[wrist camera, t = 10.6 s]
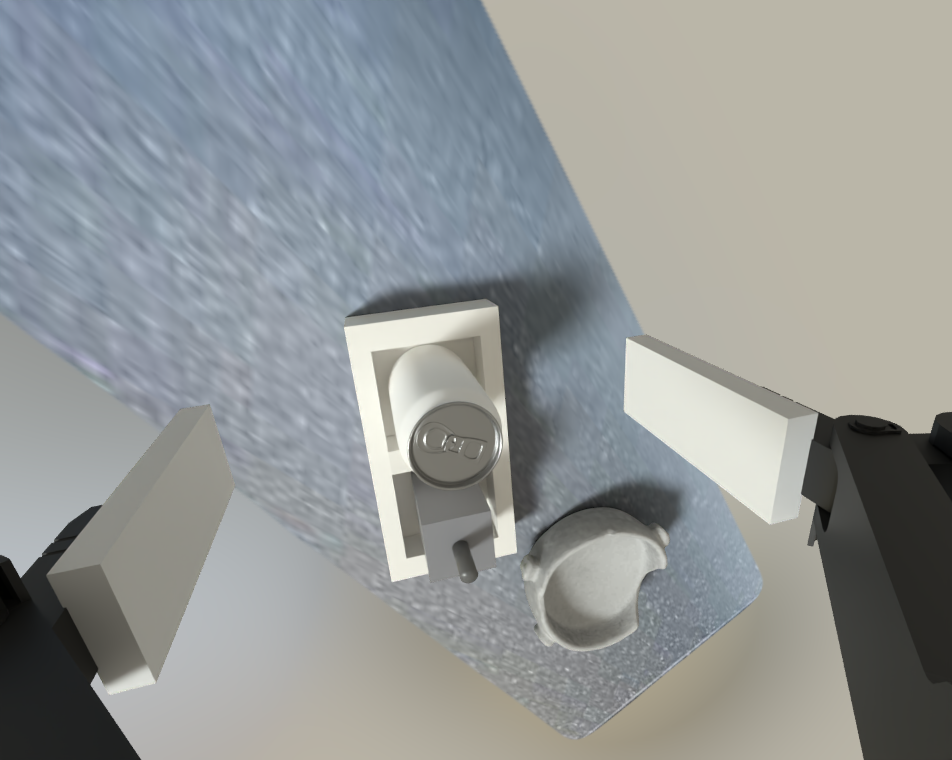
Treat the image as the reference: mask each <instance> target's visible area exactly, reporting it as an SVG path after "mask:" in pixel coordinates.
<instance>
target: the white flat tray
mask: <svg viewBox="0 0 952 760" xmlns="http://www.w3.org/2000/svg"><path fill="white" fill-rule="evenodd" d="M344 330H345V335H346V340H347V346H348V351H349V356H350V362H351V367H352V372H353V378H354V383H355V388H356V394H357V399H358V404H359V410H360V415H361V420H362V425H363V431H364V436H365V441H366V447H367V452H368V457H369V463H370V468H371V473H372V479H373V484H374V489H375V495H376V500H377V505H378V511H379V516H380V521H381V527H382V532H383V537H384V543H385V548H386V553H387V559H388V564H389V569H390V575H391V580H392V582H394V581H399V580H403V579H407V578H411V577H416V576H420V575H424V574H428V568H427V563H426V558H425V553H424V548H423V543H422V538H421V533H420V528H419V523H418V517H417V510H416V504H415V498H414V491H413V485H412V479H411V472H410V471H412V470H411V469H410V468H409V467H408V466H407V464H406V463H405V461H404V459H403V457H402V455H401V453H400V450H399V446H398V442H397V437H396V431H395V426H394V420H393V414H392V409H391V403H390V396H389V388H388V384H389V376H390V372H391V370H392V367H393V365H394V363H395V362H396V361H397V360H398V358H399V357H401V356H402V355H403V354H404V353H405V352H407V351H409V350H410V349H412V348H415V347H418V346H422V345H439V346H442V347H445V348H447V349H449V350H451V351H453V352H454V353H455V354H457V355H458V356H459V357H460V359H461V360H462V361H463V362H464V364H465V365H466V366H467V368H468V369H469V370H470V372H471V373H472V374H473V376H474V377H475V378H476V380H477V381H478V383H479V384H480V385H481V387H482V388H483V389H484V391H485V392H486V394H487V395H488V396H489V398H490V399H491V401H492V402H493V404H494V405H495V407H496V409H497V411H498V413H499V416H500V419H501V423H502V436H503V448H502V453H501V456H500V458H499V461H498V463H497V464H496V466H495V467H494V469H493V470H492V471H491V472H490V474H489V475H488V476H486V477H485V478H484V479H483V480H481V481H480V482H478V483H479V485H480V488H481V490H482V492H483V494H484V496H485V499H486V501H487V503H488V505H489V507H490V510H491V516H492V527H493V537H494V548H495V558H496V557H500V556H505V555H509V554H513V553H517V548H516V535H515V522H514V509H513V496H512V482H511V469H510V456H509V443H508V430H507V417H506V403H505V390H504V377H503V364H502V351H501V338H500V324H499V311H498V306H497V305H496V304H494V303H492V302H491V301H489V300H488V299H480V300H473V301H465V302H458V303H450V304H443V305H435V306H428V307H420V308H413V309H405V310H398V311H390V312H383V313H375V314H368V315H360V316H353V317H345V324H344Z"/></svg>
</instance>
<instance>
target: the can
mask: <svg viewBox="0 0 952 760" xmlns="http://www.w3.org/2000/svg"><path fill="white" fill-rule="evenodd" d="M388 388H389V396H390V403H391V409H392V414H393V420H394V426H395V431H396V437H397V442H398V446H399V450H400V453H401V455H402V457H403V459H404V461H405V463H406V464H407V466H408V467H409V468H410V469H411V470H412V471H413V472H414V473H415V474H416V475H417V477H418V478H419V479H420V480H422V481H423V482H424V483H426V484H428V485H429V486H432V487H434V488H437V489H442V490H460V489H464V488H467V487H470V486H473V485H475V484H477V483H478V482H480V481H481V480H483V479H484V478H485V477H486V476H488V475H489V474H490V472H491V471H492V470H493V469H494V467H495V466H496V464H497V463H498V461H499V458H500V456H501V453H502V448H503V436H502V423H501V419H500V416H499V413H498V411H497V409H496V407H495V405H494V404H493V402H492V401H491V399H490V398H489V396H488V395H487V394H486V392H485V391H484V389H483V388H482V387H481V385H480V384H479V383H478V381H477V380H476V378H475V377H474V376H473V374H472V373H471V372H470V370H469V369H468V368H467V366H466V365H465V364H464V362H463V361H462V360H461V359H460V357H459V356H458V355H457V354H455V353H454V352H453V351H451V350H449V349H447V348H445V347H442V346H439V345H422V346H418V347H415V348H412V349H410V350H409V351H407V352H405V353H404V354H403V355H402V356H401V357H399V358H398V360H397V361H396V362H395V363H394V365H393V367H392V370H391V372H390V376H389V384H388Z"/></svg>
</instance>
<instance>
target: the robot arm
mask: <svg viewBox="0 0 952 760" xmlns="http://www.w3.org/2000/svg"><path fill="white" fill-rule="evenodd" d="M624 412H625V413H627V414H628V415H629V416H631V417H632V418H633V419H634V420H636V421H637V422H638V423H640V424H641V425H642V426H643V427H645V428H646V429H647V430H649V431H650V432H651V433H652V434H654V435H655V436H656V437H658V438H659V439H660V440H661V441H663V442H664V443H665V444H667V445H668V446H669V447H670V448H672V449H673V450H674V451H676V452H677V453H678V454H679V455H681V456H682V457H683V458H685V459H686V460H687V461H688V462H690V463H691V464H692V465H694V466H695V467H696V468H698V469H699V470H700V471H701V472H703V473H704V474H705V475H707V476H708V477H709V478H710V479H712V480H713V481H714V482H716V483H717V484H718V485H719V486H721V487H722V488H723V489H725V490H726V491H727V492H729V493H730V494H731V495H732V496H734V497H735V498H736V499H737V500H739V501H740V502H741V503H743V504H744V505H745V506H746V507H748V508H749V509H750V510H752V511H753V512H754V513H756V514H757V515H758V516H760V517H761V518H762V519H763V520H765V521H766V522H767V523H769V524H770V525H771V524H774V523H779V522H783V521H786V520H791V519H794V518H797V517H798V513H799V508H800V503H801V498H802V495H803V496H805V497H806V498H808V499H809V500H811V501H813V502H814V503H816V507H815V512H814V516H813V521H812V526H811V530H810V535H809V540H808V545H809V546H813V545H814V541H815V540H818V544H819V549H820V554H821V559H822V563H823V568H824V573H825V577H826V582H827V587H828V591H829V597H830V601H831V606H832V611H833V616H834V620H835V625H836V630H837V634H838V639H839V644H840V649H841V653H842V658H843V662H844V668H845V672H846V677H847V682H848V686H849V691H850V696H851V701H852V705H853V710H854V715H855V720H856V724H857V729H858V734H859V739H860V743H861V748H862V753H863V758H864V760H952V412H946V413H941V414H938V415H936V417H935V420H934V424H933V427H932V430H931V433H926V434H908V432H907V431H906V430H904V429H903V428H902V427H901V426H899V425H897V424H895V423H892V422H890V421H887V420H883V419H880V418H876V417H871V416H863V415H847V416H840V417H838V418H836V419H833V418H831V417H828V416H826V415H824V414H822V413H820V412H817V411H815V410H813V409H811V408H808V407H806V406H804V405H802V404H800V403H798V402H793V400H791V399H789V398H786V397H784V396H780V394H778V393H776V392H773V391H771V390H769V389H767V388H765V387H761V386H758V385H756V384H754V383H752V382H750V381H747V380H745V379H743V378H741V377H739V376H736V375H734V374H732V373H730V372H728V371H725V370H723V369H721V368H719V367H717V366H715V365H712V364H710V363H708V362H706V361H704V360H701V359H699V358H697V357H694V356H693V355H690V354H688V353H686V352H684V351H681V350H680V349H677V348H675V347H673V346H670V345H669V344H666V343H664V342H662V341H660V340H658V339H655V338H653V337H651V336H649V335H641V336H634V337H628V338H626V362H625V391H624ZM234 488H235V483H234V480H233V477H232V474H231V471H230V468H229V464H228V461H227V458H226V455H225V452H224V448H223V445H222V442H221V439H220V436H219V433H218V429H217V426H216V423H215V420H214V417H213V413H212V410H211V407H210V404H208V405H202V406H196V407H190V408H183V409H180V410H179V411H178V413H177V414H176V415H175V416H174V418H173V419H172V420H171V421H170V423H169V424H168V425H167V426H166V428H165V429H164V430H163V431H162V432H161V434H160V435H159V436H158V437H157V439H156V440H155V441H154V442H153V444H152V445H151V446H150V447H149V449H148V450H147V451H146V452H145V453H144V455H143V456H142V457H141V458H140V460H139V461H138V462H137V463H136V465H135V466H134V467H133V468H132V470H131V471H130V472H129V473H128V475H127V476H126V477H125V478H124V480H123V481H122V482H121V483H120V484H119V486H118V487H117V488H116V489H115V491H114V492H113V493H112V494H111V496H110V497H109V498H108V499H107V501H106V502H105V503H104V504H103V505H99V506H94V507H91V508H89V509H88V510H87V511H85V512H84V513H82V514H81V515H80V516H78V517H77V518H75V519H74V520H73V521H71V522H70V523H69V524H68V525H67V526H66V527H65V528H64V529H63V530H62V532H61V533H60V534H59V535H58V536H57V537H56V538H55V540H54V543H51V544H50V545H49V547H48V548H47V549H46V550H45V551H44V552H43V553H42V557H39V558H38V559H37V560H36V561H35V563H34V564H33V565H32V566H31V567H30V568H29V569H28V571H27V572H26V573H25V574H24V575H23V576H22V577H21V578H20V577H19V575H18V573H17V571H16V569H15V568H14V566H13V564H12V562H11V561H10V559H9V558H7V557H4V556H2V555H0V760H141V759H140V757H139V756H138V755H137V753H136V751H135V750H134V749H133V747H132V746H131V744H130V743H129V741H128V740H127V738H126V737H125V735H124V734H123V732H122V731H121V729H120V728H119V726H118V725H117V724H116V722H115V721H114V719H113V718H112V716H111V715H110V713H109V712H108V710H107V709H106V707H105V706H104V704H103V703H102V701H101V700H100V698H99V697H98V696H97V694H96V693H95V691H94V690H93V688H92V687H91V685H90V684H91V682H92V680H93V679H94V677H95V675H96V673H98V675H99V677H100V679H101V680H102V682H103V684H104V686H105V688H106V690H107V692H108V694H109V695H111V694H115V693H119V692H123V691H127V690H130V689H134V688H138V687H142V686H146V685H150V684H154V683H156V682H157V679H158V677H159V674H160V672H161V669H162V667H163V664H164V662H165V659H166V657H167V654H168V652H169V649H170V647H171V644H172V642H173V639H174V637H175V635H176V632H177V630H178V627H179V625H180V622H181V619H182V617H183V615H184V612H185V610H186V607H187V605H188V602H189V599H190V597H191V595H192V592H193V590H194V587H195V585H196V582H197V580H198V577H199V575H200V572H201V570H202V567H203V565H204V562H205V560H206V557H207V555H208V552H209V550H210V547H211V545H212V542H213V540H214V537H215V535H216V532H217V530H218V527H219V525H220V522H221V520H222V517H223V515H224V512H225V510H226V507H227V505H228V502H229V500H230V498H231V495H232V492H233V490H234Z"/></svg>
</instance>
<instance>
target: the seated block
mask: <svg viewBox="0 0 952 760" xmlns="http://www.w3.org/2000/svg"><path fill="white" fill-rule="evenodd" d="M410 472H411V479H412V485H413V491H414V498H415V504H416V510H417V517H418V523H419V528H420V533H421V538H422V543H423V548H424V553H425V558H426V563H427V568H428V573H429V578H430V583H433V582H437V581H441V580H445V579H449V578H453V577H458V576H460V579H461V581H462V582H464V583H471V582H473V581H475V580H476V579H477V577H478V571H483V570H487V569H491V568H495V567H496V558H495V548H494V537H493V527H492V516H491V510H490V507H489V505H488V503H487V501H486V499H485V496H484V494H483V492H482V490H481V488H480V485H479V483H477V484H475V485H473V486H470V487H467V488H464V489H460V490H442V489H437V488H434V487H432V486H429V485H428V484H426V483H424V482H423V481H422V480H420V479H419V478H418V477H417V475H416V474H415V473H414V472H413V471H410Z"/></svg>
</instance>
